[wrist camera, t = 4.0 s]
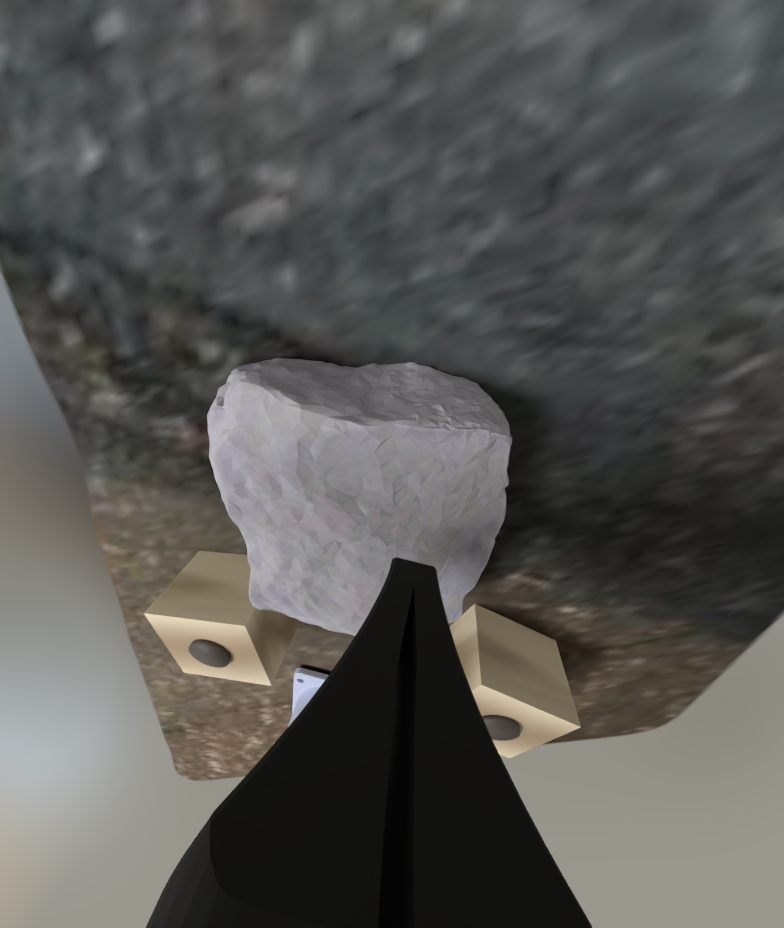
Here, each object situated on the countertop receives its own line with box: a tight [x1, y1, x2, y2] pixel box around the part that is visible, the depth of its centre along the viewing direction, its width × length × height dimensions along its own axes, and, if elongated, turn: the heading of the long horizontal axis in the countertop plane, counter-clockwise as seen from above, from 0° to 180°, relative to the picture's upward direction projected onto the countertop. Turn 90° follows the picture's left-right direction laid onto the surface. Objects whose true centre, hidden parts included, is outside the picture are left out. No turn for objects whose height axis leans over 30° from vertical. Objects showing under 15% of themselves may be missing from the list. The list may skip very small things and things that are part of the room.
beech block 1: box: [144, 551, 299, 686], centre depth 17 cm, size 5×5×4 cm
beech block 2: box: [450, 604, 581, 758], centre depth 17 cm, size 5×5×4 cm
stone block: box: [207, 358, 512, 636], centre depth 13 cm, size 12×5×10 cm
